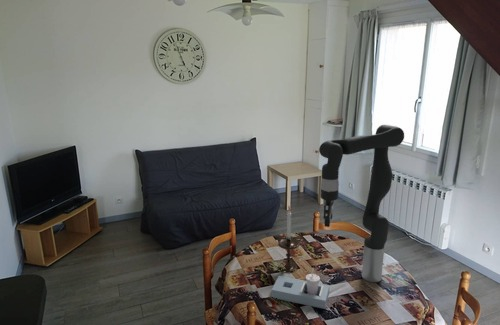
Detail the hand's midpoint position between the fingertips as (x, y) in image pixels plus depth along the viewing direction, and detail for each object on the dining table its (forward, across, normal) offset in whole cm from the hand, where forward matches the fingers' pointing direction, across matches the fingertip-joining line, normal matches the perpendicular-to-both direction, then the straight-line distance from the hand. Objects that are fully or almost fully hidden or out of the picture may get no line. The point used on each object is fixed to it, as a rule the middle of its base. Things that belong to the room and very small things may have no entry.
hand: (328, 222), depth 152 cm
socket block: (+34, +8, -10) cm, 36 cm away
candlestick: (+34, -13, -21) cm, 42 cm away
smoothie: (+34, +7, -5) cm, 35 cm away
